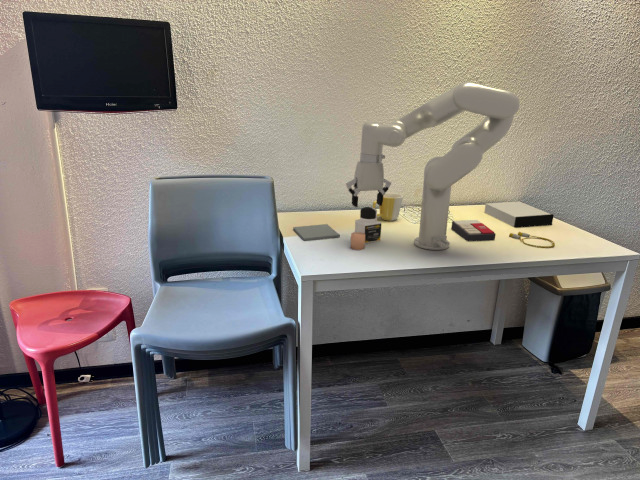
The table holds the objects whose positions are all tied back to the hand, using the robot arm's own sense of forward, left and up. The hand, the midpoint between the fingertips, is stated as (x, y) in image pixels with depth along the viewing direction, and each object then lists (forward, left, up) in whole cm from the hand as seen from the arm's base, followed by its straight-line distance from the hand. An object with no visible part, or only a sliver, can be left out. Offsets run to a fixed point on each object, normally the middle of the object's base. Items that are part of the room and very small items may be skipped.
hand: (367, 205), depth 179 cm
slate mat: (+12, +15, -13) cm, 23 cm away
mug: (+21, -19, -13) cm, 31 cm away
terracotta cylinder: (-7, +6, -13) cm, 16 cm away
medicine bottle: (0, -1, -13) cm, 13 cm away
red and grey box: (-7, -42, -14) cm, 45 cm away
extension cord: (-20, -60, -14) cm, 64 cm away
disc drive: (+5, -74, -14) cm, 75 cm away
